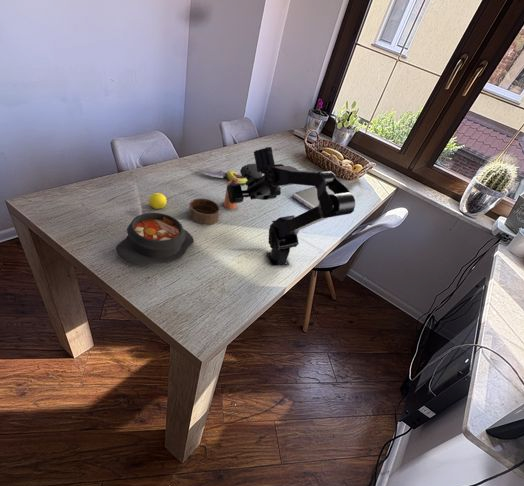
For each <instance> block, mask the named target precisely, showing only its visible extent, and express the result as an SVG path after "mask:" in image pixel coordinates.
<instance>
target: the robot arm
mask: <svg viewBox="0 0 524 486" xmlns="http://www.w3.org/2000/svg"><path fill="white" fill-rule="evenodd" d="M273 153H274V152H273V147H271V146H266V147H264V148H260V149H257V150H254V151H253V157H254V161H255V163H247V164H246V165H243V166H241V168H240V169H239V173H240V175H241V176H242V177H243V178H244V177H245V178H246V179H247V180H248V181H247V182H246V183H245V185H246V189H242V185H241V183H235V184H229V185H228V186H227V185H226V189H227V191H228V195H229V200H230V203H231V204H236V203H237V204H241V203H243V202H244V199H246V198H249V199H250V200H251V201H252V200H262V201H268V200H274V199H276V198H277V197H278V196H281V193H282V191H281V190H282V188H281V187H285V186H293V185H297V186H299V185H300V186H310V187H316V189H317V198H318V201H319V204H318V206H317V207H315V208H313V209H309V210H306V211H305V212H303V213H301V214H299V215H297V216H295V215H294V214H293V215H288V216H287V215H286V216H281V217H278V218H276V219H275V220H272V223H270V225H269V228H268V244H269V247H270V249H271V250H270V251H269V252H266V253H265V255H266V256H267V258H268V261H269V263H270V265H271V266H275V267H276V266H289V265H290V261H289V260H288V258H289V254H290V251H291V248H297V246H298V245H299V244H300V243H299V238H298V234H299V233H300V231H301V230H304V229H306V228H308V227H310V226H313V225H315V224H317V223H320V222H321V221H324V220H326V219H328V218H333V217H334V218H335V217H340V216H345V215H346V216H347V215H350V214H352V213H353V212H355V208H356V199H355V197H354V195H353V194H352V193H351V191H350V189H349V188H348V187H347V186H346V185H345V184H344V183H342V182H341V180H339V179H338V178H337V175H336V174H335V173H334V172H332V171H331V170H326V171H324V170H323V171H319V170H317V171H316V170H299V169H297V168H296V167H294V166H291V165H284V164H282V163H277V164H275V159H274V154H273ZM326 187H328V188H329V189H330V190H331V191H332V192H334V193H335V194H328V192H327V190H326ZM237 204H236V205H237Z"/></svg>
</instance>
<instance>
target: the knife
mask: <svg viewBox="0 0 524 486" xmlns="http://www.w3.org/2000/svg"><path fill="white" fill-rule="evenodd" d="M196 170H197V171H198V172H200V173H203V174H204V175H207V176H210V177H213V178H214V177H215V178H220V179H224V177H226V178H227V180H229V181H231V180H232V178H237V179H238V183H239V184H246V182H247V181H248V180H247V179H246V178H245V177H244V178H243V177H242V175H241V174H238V173H237V171H234V170H228V171H223V170H219V171H209V170H204V169H201V168H198V167H196Z"/></svg>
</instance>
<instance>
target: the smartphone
mask: <svg viewBox="0 0 524 486" xmlns="http://www.w3.org/2000/svg"><path fill="white" fill-rule="evenodd" d="M326 190H327V192H328V194H335V193H334V192H332V191H331V190H330V189H329V188H328V187H326ZM291 196H292V198H294V199H295V200H297V201H298V202H299V203H301V204H303V205H304V206H306V207H307V208H309V210H311V209H313V208H315V207H317V206H318V204H319V201H318V198H317V189H316V187H315V186H311V187H309V188H306V189H303V190H300V191H296V192H293V193H292V195H291Z"/></svg>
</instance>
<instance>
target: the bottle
mask: <svg viewBox="0 0 524 486" xmlns="http://www.w3.org/2000/svg"><path fill="white" fill-rule="evenodd" d="M235 183H238V179H237V178H232V180H231V181H230V180H229V181H228V182H227V184H226V187H227V186H228V185H229V184H235ZM237 204H238V203H236V204H231V203H230V200H229V195H228V191H227V188H226V190H225V195H224V199H223V206H224V208H226V209H228V210H235V209H236V208H237Z"/></svg>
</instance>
